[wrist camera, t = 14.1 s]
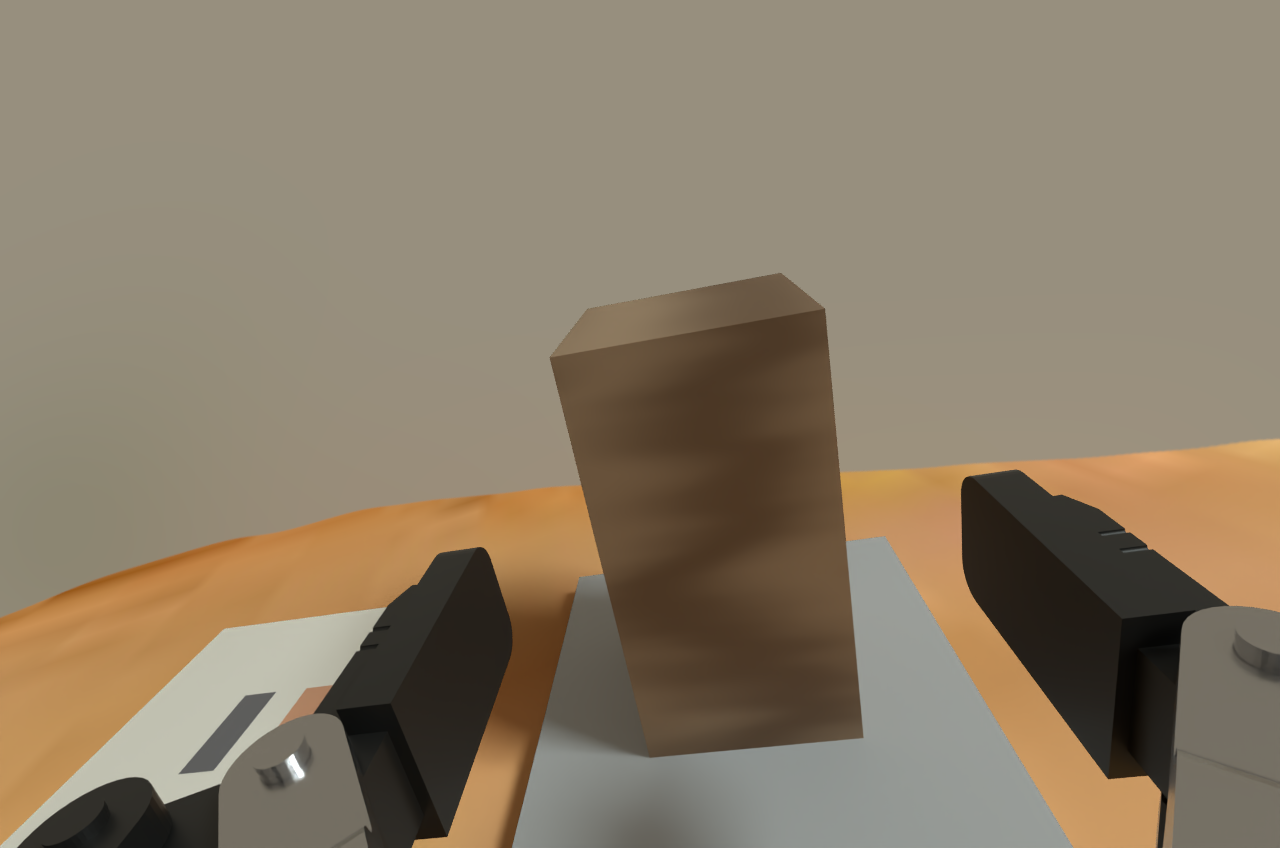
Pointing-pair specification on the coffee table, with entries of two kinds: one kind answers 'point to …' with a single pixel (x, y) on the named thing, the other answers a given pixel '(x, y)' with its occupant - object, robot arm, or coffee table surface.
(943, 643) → the grey mat
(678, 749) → the walnut block
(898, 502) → the coffee table surface
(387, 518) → the coffee table surface
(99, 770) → the white tile
